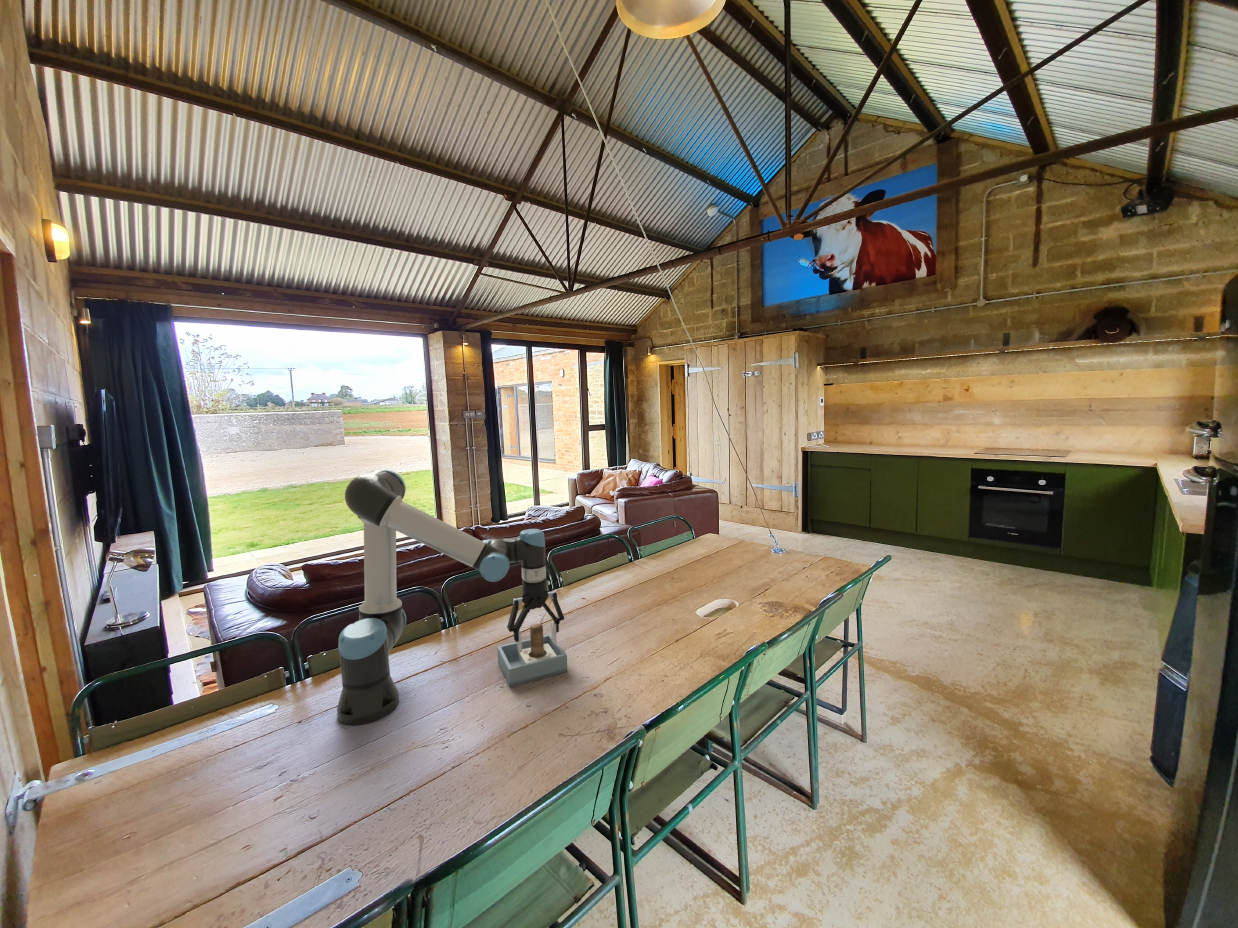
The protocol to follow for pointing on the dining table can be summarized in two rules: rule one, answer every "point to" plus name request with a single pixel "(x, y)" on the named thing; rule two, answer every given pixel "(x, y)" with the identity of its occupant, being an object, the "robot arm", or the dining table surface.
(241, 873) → the dining table surface
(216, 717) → the dining table surface
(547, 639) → the box
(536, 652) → the peg
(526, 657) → the plate
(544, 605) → the robot arm
